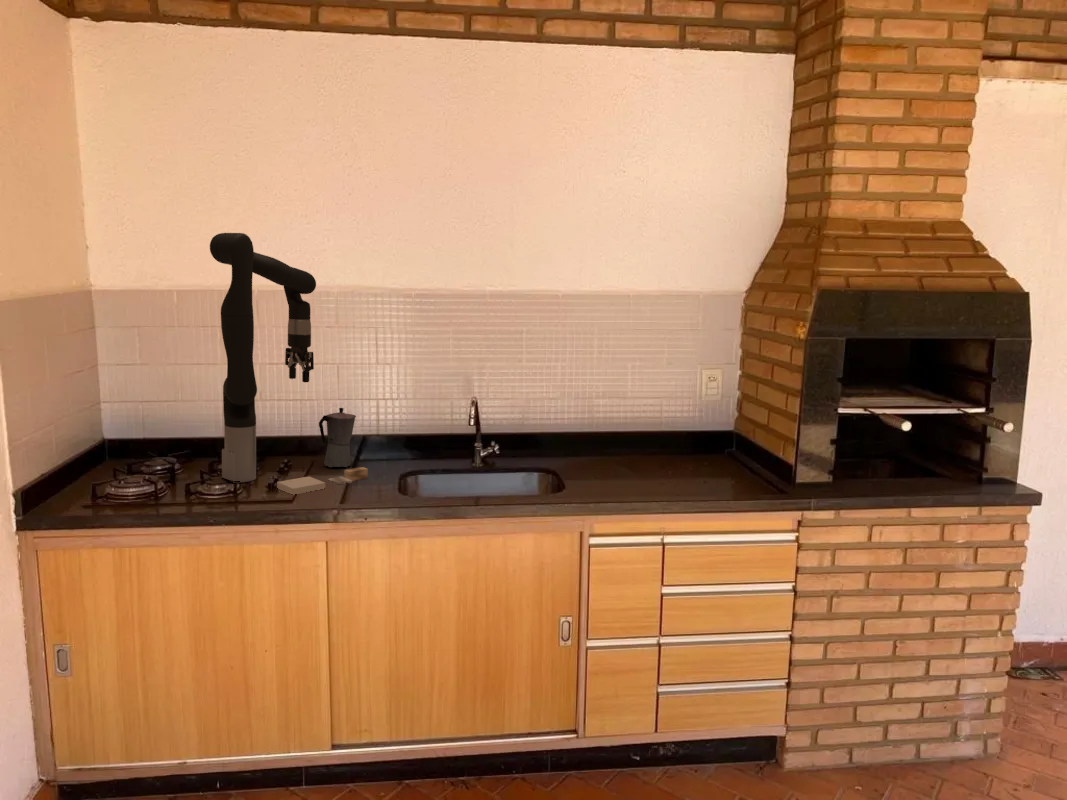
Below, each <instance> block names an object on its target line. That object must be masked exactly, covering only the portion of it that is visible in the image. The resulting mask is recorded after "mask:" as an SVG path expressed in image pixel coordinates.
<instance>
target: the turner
mask: <svg viewBox="0 0 1067 800" xmlns="http://www.w3.org/2000/svg"><path fill="white" fill-rule="evenodd" d="M343 473H344V475H343V476H342V475H341V476H336V477H330V478H327V481H328V480H330V481H333V482H336V483H343V482H347V483H348V484H352V483H353V482H354V481H360V480H366V479H368V478H369V477H368V476H369V469H368V468H366V467H364V466H362V467H361V466H360V467H354V468H349V469H344V471H343Z"/></svg>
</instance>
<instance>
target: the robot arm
mask: <svg viewBox="0 0 1067 800" xmlns="http://www.w3.org/2000/svg"><path fill="white" fill-rule="evenodd" d="M209 252H210V254H211V256H212V258H213V259H214V260H215V261H216V262H218V263H221V264H224V265H229V266H231V281H230V286H229V288H228V290H227V292H226V294H225V297H224V299H223V301H222V304H221V306H220V327H221V333H222V334H221V335H222V340H223V341H222V342H223V345H224V346H223V347H224V351H225V355H226V362H227V366H226V367H227V369H226V372H227V373H226V378H225V380H224V381H223V386H222V398H223V399H222V400H223V401H222V403H223V409H222V410H223V412H222V413H223V421H224V423H223V426H224V427H223V428H224V429H223V430H224V431H223V432H224V439H223V440H224V448H222V449H221V478H222V477H224V478H227V479H229V480H233V481H240V482H239V483H246V482H252V481H254V480H256V479H257V415H256V407H255V406H256V402H255V399H256V396H257V393H258V386H257V380H256V375H255V369H254V367H255V366H254V341H255V339H254V336H255V333H254V332H255V328H254V327H255V325H254V308H253V274H255V275H257V276H260V277H262V278H264V279H266V280H268V281H270V282H273V283H275V284H276V285H279V286H282V287H283V290H284V294H285V298H286V302H287V305H288V321H287V347H285V352H284V355H285V356H284V357H285V358H284V364H285V366H287V368H288V378H289V379H290V380H293V379H294V380H295V379H297V378H296V377H297V365H299V366H300V367H301V370H302V372H301V373H302V376H301V377H302V379H301V380H302V382H303V383H309V382H310V372H311V371H313V370H314V369H315V367H314V366H315V365H314V362H315V361H314V351H308V348H310V347H312V322H311V303H309V302H308V301H306V300H303V297H302V296H301V295H310V294H311V293H313V292H315V290H316V288H317V280H316V278H315V277H314V276H313V275H312V273H310V272H308V271H305V270H303V269H299V268H296V267H293V266H290V265H288V264H287V263H285V262H283V261H281V260H279V259H277V258H276V257H275V258H274V257H272V256H269V255H265V254H261V253H258V252H255V251H254V244H253V241H252V239H251V237H250V236H249V235H248V234H247V233H246V234H245V233H244V232H221V233H218V234H215V235H214V236H213V237H212V238H211V239H210V242H209Z"/></svg>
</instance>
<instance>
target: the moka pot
mask: <svg viewBox="0 0 1067 800" xmlns="http://www.w3.org/2000/svg"><path fill="white" fill-rule="evenodd" d="M338 411H339V412H333V413H329V414H326V415H323V416H322V417H321V419H320V420H319V422H318V427H319V431H320V436H321V440H322V443H323V444H327V447H326V453H325V456H324V462H323V465H324V466H325V467H327V466H328V467H327V468H332V467H345V466H349V465H350V464H351V465H352V462H351V461H352V460H351V446H350V443H351V440H352V437H353V432H354V426H355V420H356V417H357V416H356V415H355V414H351V413H345V412H344V408H343V407H339V408H338ZM324 422H326V431H327V434H326V435H327V438H328V439H326V438H325V437H326V436H325V432H324V425H323V423H324Z"/></svg>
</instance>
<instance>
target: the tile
mask: <svg viewBox="0 0 1067 800" xmlns="http://www.w3.org/2000/svg"><path fill="white" fill-rule="evenodd" d="M277 488H278V489H277ZM324 488H325V489H326V482H324V481H322V480H319V479H317V478H314V477H313V476H303V477H299V478H292V479H286V480H279V481H277V482H276V489H277V490H280V491H283V492H284V491H285V493H287V494H289V493H290V495H291V494H293V495H292V496H296V495H295V494H297V495H300V494H301V495H302V494H306V492H307V493H311V492H310V491H312V492H316V491H315V490H318V491H321V490H320V489H323V490H325V489H324Z"/></svg>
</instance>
